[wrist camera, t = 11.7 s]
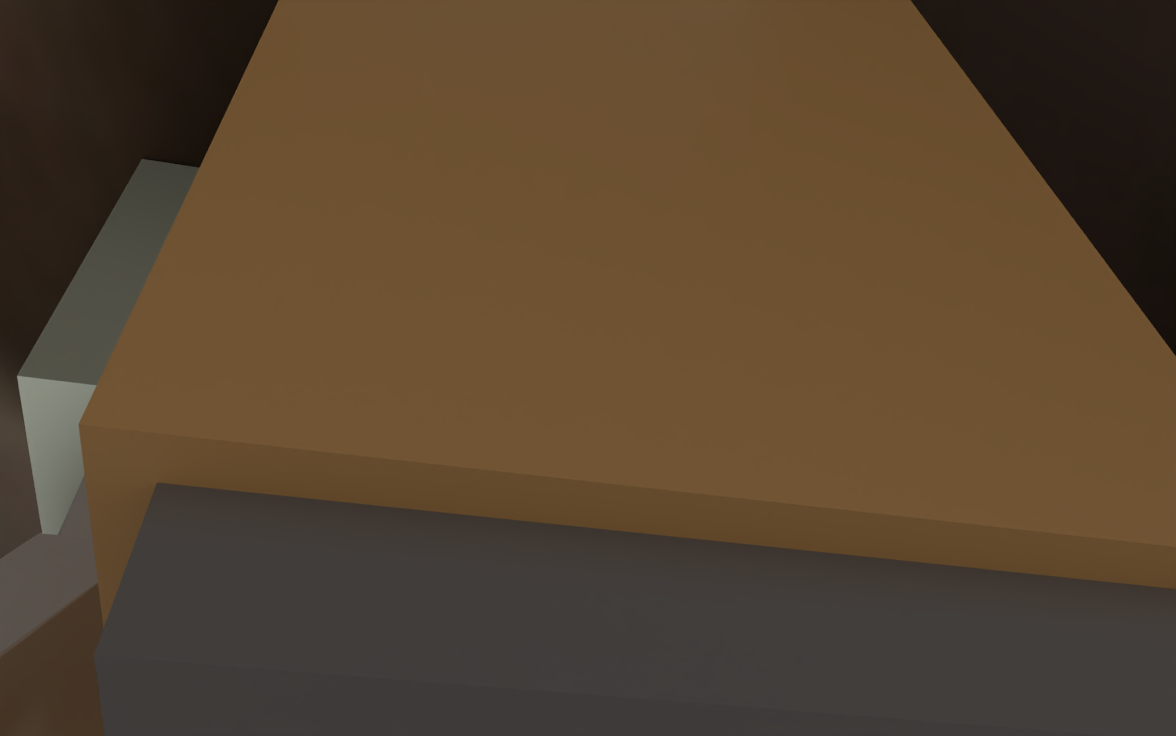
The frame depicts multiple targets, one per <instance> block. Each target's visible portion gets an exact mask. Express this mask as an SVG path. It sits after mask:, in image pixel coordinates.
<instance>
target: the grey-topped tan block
mask: <svg viewBox="0 0 1176 736" xmlns="http://www.w3.org/2000/svg"><path fill="white" fill-rule="evenodd" d="M78 426H79V434H80V442H81V450H82V458H83V466H84V474H85V482H86V490H87V498H88V507H89V515H90V523H91V531H92V539H93V547H94V555H95V563H96V571H97V579H98V587H99V595H100V603H101V612H102V620H103V631H102V634H101V637H100V639H99V642H98V645H97V648H96V650H95V653H94V662H95V670H96V677H97V684H98V692H99V699H100V706H101V713H102V721H103V728H104V735H105V736H1176V356H1175V355H1174V353H1173V352H1172V351H1171V349H1170V348H1169V347H1168V345H1167V344H1166V343H1165V341H1164V340H1163V339H1162V337H1161V336H1160V335H1159V333H1158V332H1157V331H1156V329H1155V328H1154V327H1153V325H1152V324H1151V322H1150V321H1149V320H1148V318H1147V317H1146V316H1145V314H1144V313H1143V312H1142V310H1141V309H1140V308H1139V306H1138V305H1137V304H1136V302H1135V301H1134V300H1133V298H1132V297H1131V296H1130V294H1129V293H1128V292H1127V290H1126V289H1125V288H1124V286H1123V285H1122V284H1121V282H1120V281H1119V280H1118V278H1117V277H1116V276H1115V274H1114V273H1113V271H1112V270H1111V269H1110V267H1109V266H1108V265H1107V263H1106V262H1105V261H1104V259H1103V258H1102V257H1101V255H1100V254H1099V253H1098V251H1097V250H1096V249H1095V247H1094V246H1093V245H1092V243H1091V242H1090V241H1089V239H1088V238H1087V237H1086V235H1085V234H1084V233H1083V231H1082V230H1081V229H1080V227H1079V226H1078V224H1077V223H1076V222H1075V220H1074V219H1073V218H1072V216H1071V215H1070V214H1069V212H1068V211H1067V210H1066V208H1065V207H1064V206H1063V204H1062V203H1061V202H1060V200H1059V199H1058V198H1057V196H1056V195H1055V194H1054V192H1053V191H1052V190H1051V188H1050V187H1049V186H1048V184H1047V183H1046V182H1045V180H1044V179H1043V178H1042V176H1041V175H1040V173H1039V172H1038V171H1037V169H1036V168H1035V167H1034V165H1033V164H1032V163H1031V161H1030V160H1029V159H1028V157H1027V156H1026V155H1025V153H1024V152H1023V151H1022V149H1021V148H1020V147H1019V145H1018V144H1017V143H1016V141H1015V140H1014V139H1013V137H1012V136H1011V135H1010V133H1009V132H1008V131H1007V129H1006V128H1005V127H1004V125H1003V124H1002V122H1001V121H1000V120H999V118H998V117H997V116H996V114H995V113H994V112H993V110H992V109H991V108H990V106H989V105H988V104H987V102H986V101H985V100H984V98H983V97H982V96H981V94H980V93H979V92H978V90H977V89H976V88H975V86H974V85H973V84H972V82H971V81H970V80H969V78H968V77H967V76H966V74H965V73H964V71H963V70H962V69H961V67H960V66H959V65H958V63H957V62H956V61H955V59H954V58H953V57H952V55H951V54H950V53H949V51H948V50H947V49H946V47H945V46H944V45H943V43H942V42H941V41H940V39H939V38H938V37H937V35H936V34H935V33H934V31H933V30H932V29H931V27H930V26H929V24H928V23H927V22H926V20H925V19H924V18H923V16H922V15H921V14H920V12H919V11H918V10H917V8H916V7H915V6H914V4H913V3H912V2H911V0H279V1H278V3H277V5H276V7H275V9H274V11H273V13H272V15H271V18H270V20H269V22H268V24H267V26H266V28H265V30H264V32H263V35H262V37H261V39H260V41H259V43H258V45H257V47H256V49H255V51H254V54H253V56H252V58H251V60H250V62H249V64H248V66H247V68H246V70H245V73H244V75H243V77H242V79H241V81H240V83H239V85H238V87H237V90H236V92H235V94H234V96H233V98H232V100H231V102H230V104H229V106H228V109H227V111H226V113H225V115H224V117H223V119H222V121H221V123H220V126H219V128H218V130H217V132H216V134H215V136H214V138H213V140H212V142H211V145H210V147H209V149H208V151H207V153H206V155H205V157H204V159H203V162H202V164H201V166H200V168H199V170H198V172H197V174H196V176H195V178H194V181H193V183H192V185H191V187H190V189H189V191H188V193H187V195H186V198H185V200H184V202H183V204H182V206H181V208H180V210H179V212H178V214H177V217H176V219H175V221H174V223H173V225H172V227H171V229H170V231H169V233H168V236H167V238H166V240H165V242H164V244H163V246H162V248H161V250H160V253H159V255H158V257H157V259H156V261H155V263H154V265H153V267H152V269H151V272H150V274H149V276H148V278H147V280H146V282H145V284H144V286H143V289H142V291H141V293H140V295H139V297H138V299H137V301H136V303H135V305H134V308H133V310H132V312H131V314H130V316H129V318H128V320H127V322H126V325H125V327H124V329H123V331H122V333H121V335H120V337H119V339H118V341H117V344H116V346H115V348H114V350H113V352H112V354H111V356H110V358H109V361H108V363H107V365H106V367H105V369H104V371H103V373H102V375H101V377H100V380H99V382H98V384H97V386H96V388H95V390H94V392H93V394H92V396H91V399H90V401H89V403H88V405H87V407H86V409H85V411H84V413H83V416H82V418H81V420H80V422H79V424H78Z"/></svg>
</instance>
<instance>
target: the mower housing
mask: <svg viewBox="0 0 1176 736" xmlns="http://www.w3.org/2000/svg"><path fill="white" fill-rule="evenodd" d="M198 170H199V168H198V167H192V166H185V165H179V164H172V163H166V162H159V161H153V160H146V159H142V160H141V162H140V163H139V165H138V167H137V168H136V170H135V172H134V174H133V175H132V177H131V179H130V181H129V182H128V184H127V186H126V188H125V189H124V191H123V193H122V194H121V196H120V198H119V200H118V201H117V203H116V205H115V207H114V208H113V210H112V212H111V214H110V215H109V217H108V219H107V220H106V222H105V224H104V226H103V227H102V229H101V231H100V233H99V234H98V236H97V238H96V240H95V241H94V243H93V245H92V247H91V248H90V250H89V252H88V253H87V255H86V257H85V259H84V260H83V262H82V264H81V266H80V267H79V269H78V271H77V273H76V274H75V276H74V278H73V279H72V281H71V283H70V285H69V286H68V288H67V290H66V292H65V293H64V295H63V297H62V299H61V300H60V302H59V304H58V306H57V307H56V309H55V311H54V312H53V314H52V316H51V318H50V319H49V321H48V323H47V325H46V326H45V328H44V330H43V332H42V333H41V335H40V337H39V338H38V340H37V342H36V344H35V345H34V347H33V349H32V351H31V352H30V354H29V356H28V358H27V359H26V361H25V363H24V364H23V366H22V368H21V370H20V371H19V373H18V375H17V379H18V385H19V392H20V398H21V404H22V410H23V416H24V422H25V429H26V435H27V441H28V447H29V453H30V460H31V466H32V472H33V478H34V484H35V491H36V497H37V503H38V509H39V515H40V522H41V528H42V534H53V535H58V533H59V531H60V529H61V526H62V524H63V522H64V520H65V517H66V515H67V513H68V511H69V508H70V506H71V504H72V502H73V499H74V497H75V495H76V493H77V490H78V488H79V486H80V484H81V481H82V479H83V477H84V475H85V474H84V466H83V458H82V450H81V442H80V434H79V426H78V424H79V422H80V420H81V418H82V416H83V413H84V411H85V409H86V407H87V405H88V403H89V401H90V399H91V396H92V394H93V392H94V390H95V388H96V386H97V384H98V382H99V380H100V377H101V375H102V373H103V371H104V369H105V367H106V365H107V363H108V361H109V358H110V356H111V354H112V352H113V350H114V348H115V346H116V344H117V341H118V339H119V337H120V335H121V333H122V331H123V329H124V327H125V325H126V322H127V320H128V318H129V316H130V314H131V312H132V310H133V308H134V305H135V303H136V301H137V299H138V297H139V295H140V293H141V291H142V289H143V286H144V284H145V282H146V280H147V278H148V276H149V274H150V272H151V269H152V267H153V265H154V263H155V261H156V259H157V257H158V255H159V253H160V250H161V248H162V246H163V244H164V242H165V240H166V238H167V236H168V233H169V231H170V229H171V227H172V225H173V223H174V221H175V219H176V217H177V214H178V212H179V210H180V208H181V206H182V204H183V202H184V200H185V198H186V195H187V193H188V191H189V189H190V187H191V185H192V183H193V181H194V178H195V176H196V174H197V172H198Z"/></svg>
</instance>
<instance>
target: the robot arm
mask: <svg viewBox="0 0 1176 736" xmlns="http://www.w3.org/2000/svg"><path fill="white" fill-rule="evenodd" d="M102 631H103V620H102V612H101V603H100V595H99V587H98V579H97V571H96V563H95V555H94V547H93V539H92V531H91V523H90V515H89V507H88V498H87V490H86V482H85V475H84V477H83V479H82V481H81V484H80V486H79V488H78V490H77V493H76V495H75V497H74V499H73V502H72V504H71V506H70V508H69V511H68V513H67V515H66V517H65V520H64V522H63V524H62V526H61V529H60V531H59V533H58V535H53V534H40V533H39V534H37V535H36V536H34V537H33V538H31V539H30V540H28V541H26V542H25V543H23V544H22V545H20V546H19V547H17V548H16V549H14V550H13V551H11V552H10V553H8V554H7V555H5V556H4V557H2V558H0V736H105V735H104V728H103V721H102V713H101V706H100V699H99V692H98V684H97V677H96V670H95V662H94V653H95V650H96V648H97V645H98V642H99V639H100V637H101V634H102Z"/></svg>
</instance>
